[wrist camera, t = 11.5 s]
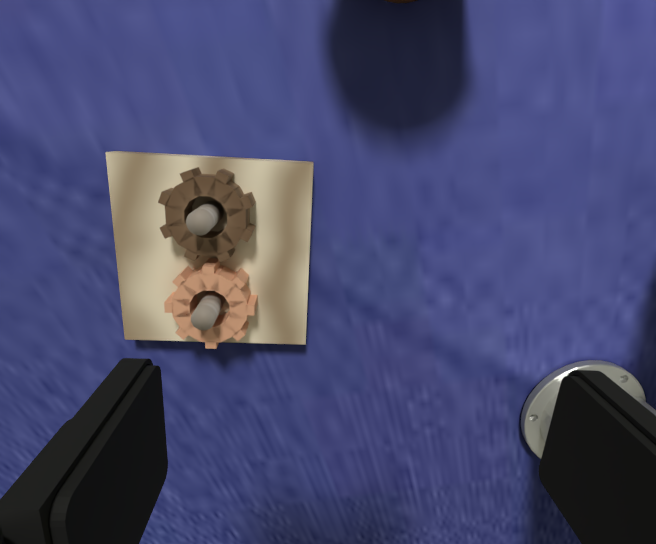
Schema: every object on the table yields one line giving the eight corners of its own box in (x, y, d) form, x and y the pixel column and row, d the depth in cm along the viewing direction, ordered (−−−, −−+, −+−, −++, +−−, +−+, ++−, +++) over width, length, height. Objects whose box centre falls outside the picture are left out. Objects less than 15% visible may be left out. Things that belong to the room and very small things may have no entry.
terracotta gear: (257, 259, 36) (254, 268, 33) (257, 336, 38) (254, 349, 36) (170, 256, 35) (161, 264, 33) (175, 334, 38) (167, 347, 35)
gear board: (313, 161, 35) (314, 167, 29) (305, 334, 40) (305, 370, 34) (116, 151, 34) (74, 154, 28) (133, 329, 39) (101, 365, 33)
